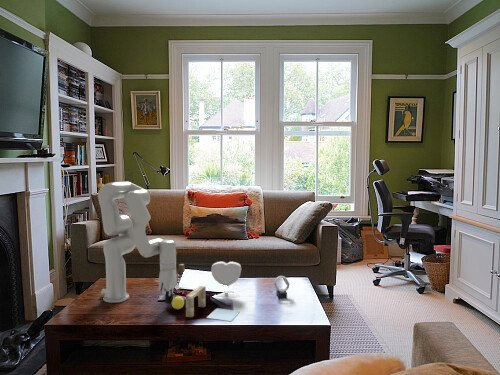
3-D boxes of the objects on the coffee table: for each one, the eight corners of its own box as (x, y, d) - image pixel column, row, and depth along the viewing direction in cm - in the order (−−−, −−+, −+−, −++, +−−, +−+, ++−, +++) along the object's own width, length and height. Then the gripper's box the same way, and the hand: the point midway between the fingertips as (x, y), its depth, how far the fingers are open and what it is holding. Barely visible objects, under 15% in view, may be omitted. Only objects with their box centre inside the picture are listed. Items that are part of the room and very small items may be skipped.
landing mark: (206, 318, 181) (206, 317, 181) (216, 308, 193) (216, 308, 193) (231, 321, 178) (231, 321, 178) (240, 311, 189) (240, 311, 189)
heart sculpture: (211, 297, 208) (211, 263, 207) (212, 294, 213) (212, 261, 212) (240, 297, 208) (240, 263, 207) (241, 294, 213) (241, 261, 212)
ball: (171, 296, 190) (181, 302, 188) (178, 292, 195) (188, 298, 193) (167, 307, 191) (177, 313, 189) (174, 302, 196) (184, 308, 195)
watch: (290, 298, 207) (290, 277, 207) (275, 299, 206) (275, 278, 205) (287, 294, 213) (288, 274, 212) (273, 295, 212) (273, 275, 211)
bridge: (186, 316, 183) (185, 295, 182) (200, 305, 197) (199, 285, 196) (191, 317, 182) (191, 296, 181) (205, 305, 196) (205, 286, 196)
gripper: (168, 261, 201) (169, 297, 202) (152, 269, 187) (153, 307, 188) (182, 262, 199) (183, 298, 200) (167, 270, 184) (168, 309, 186)
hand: (169, 303), depth 194 cm, fingers closed
